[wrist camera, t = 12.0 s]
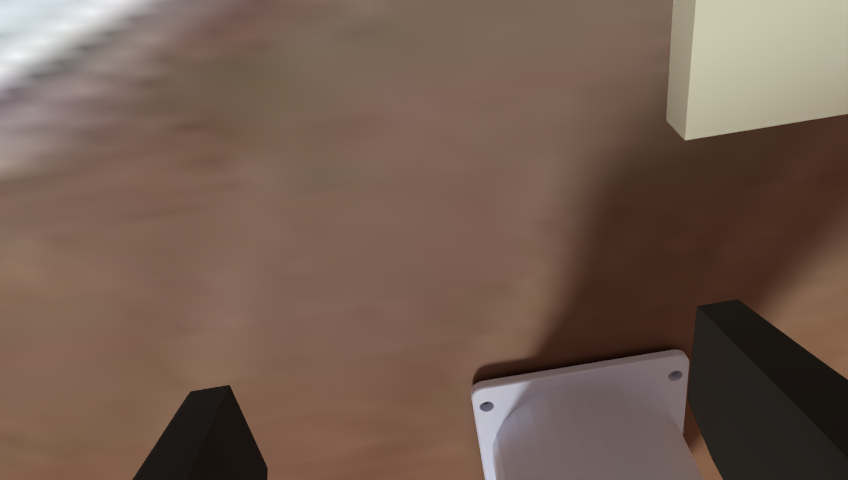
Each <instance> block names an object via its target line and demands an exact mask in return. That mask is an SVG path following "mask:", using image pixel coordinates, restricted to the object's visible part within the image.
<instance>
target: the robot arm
mask: <svg viewBox="0 0 848 480" xmlns="http://www.w3.org/2000/svg"><path fill="white" fill-rule="evenodd" d="M674 371H675V372H674ZM672 372H674V373H672ZM688 372H689V359H688V358H687V356H686V354H685V353H684V352H683V351H681V350H668V351H662V352H656V353H650V354H643V355H637V356H631V357H625V358H619V359H613V360H607V361H601V362H595V363H588V364H582V365H576V366H570V367H564V368H558V369H552V370H546V371H540V372H534V373H527V374H521V375H515V376H509V377H503V378H497V379H491V380H485V381H480V382H478V383H476V384H475V385H473V387H472V388H471V397H472V403H473V409H474V415H475V422H476V428H477V434H478V440H479V446H480V452H481V458H482V464H483V470H484V476H485V480H704V478H703V476H702V474H701V472H700V470H699V468H698V466H697V464H696V462H695V460H694V458H693V456H692V454H691V452H690V450H689V448H688V446H687V444H686V442H685V439H684V437H683V428H684V417H685V406H686V394H687V383H688ZM688 401H689V403H690V406H691V408H692V411H693V413H694V416H695V418H696V421H697V423H698V426H699V429H700V431H701V434H702V436H703V438H704V441H705V443H706V445H707V448H708V450H709V453H710V455H711V457H712V460H713V462H714V463H715V465H716V467H717V469H718V471H719V473H720V475H721V476H722V478H723V480H848V380H847V379H846V378H844V377H843V376H842V375H840V374H839V373H837V372H836V371H835V370H833V369H832V368H830V367H829V366H828V365H826V364H825V363H823V362H822V361H821V360H819V359H818V358H817V357H815V356H814V355H812V354H811V353H810V352H808V351H807V350H806V349H804V348H803V347H801V346H800V345H799V344H797V343H796V342H795V341H793V340H792V339H791V338H789V337H788V336H787V335H785V334H784V333H782V332H781V331H780V330H778V329H777V328H776V327H774V326H773V325H772V324H770V323H769V322H768V321H766V320H765V319H764V318H762V317H761V316H760V315H758V314H757V313H756V312H754V311H753V310H751V309H750V308H749V307H747V306H746V305H745V304H743V303H742V302H740V301H739V300H738V299H737V300H731V301H725V302H719V303H713V304H708V305H702V306H697V313H696V323H695V333H694V342H693V352H692V362H691V371H690V381H689V391H688ZM484 402H489V403H486V404H482V403H484ZM132 480H267V466H266V464H265V462H264V459H263V457H262V455H261V453H260V451H259V448H258V446H257V444H256V442H255V440H254V438H253V435H252V433H251V431H250V429H249V427H248V424H247V422H246V420H245V418H244V416H243V413H242V411H241V409H240V407H239V405H238V403H237V400H236V398H235V396H234V394H233V392H232V389H231V387H230V385H227V386H221V387H215V388H209V389H203V390H197V391H191V392H190V393H189V395H188V396H187V397H186V399H185V400H184V402H183V403H182V405H181V406H180V408H179V409H178V411H177V412H176V414H175V415H174V417H173V418H172V420H171V422H170V423H169V425H168V426H167V428H166V429H165V431H164V432H163V434H162V435H161V437H160V438H159V440H158V442H157V443H156V445H155V446H154V448H153V449H152V451H151V452H150V454H149V455H148V457H147V458H146V460H145V461H144V463H143V464H142V466H141V467H140V469H139V471H138V472H137V474H136V475H135V477H134V478H133V479H132Z"/></svg>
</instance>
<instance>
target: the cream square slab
mask: <svg viewBox="0 0 848 480" xmlns="http://www.w3.org/2000/svg"><path fill="white" fill-rule="evenodd" d="M844 114H848V0H673V15H672V31H671V47H670V64H669V80H668V96H667V113H666V121H667V122H668V123H669V124H670V125H671V126H672V127H673V128H674V129H675V130H676V131H677V133H678V134H679V135H680V136H681V137H682V138H683V139H684V140H691V139H697V138H703V137H710V136H716V135H722V134H728V133H734V132H740V131H746V130H752V129H759V128H765V127H771V126H777V125H783V124H789V123H795V122H802V121H808V120H814V119H820V118H826V117H832V116H838V115H844Z"/></svg>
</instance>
